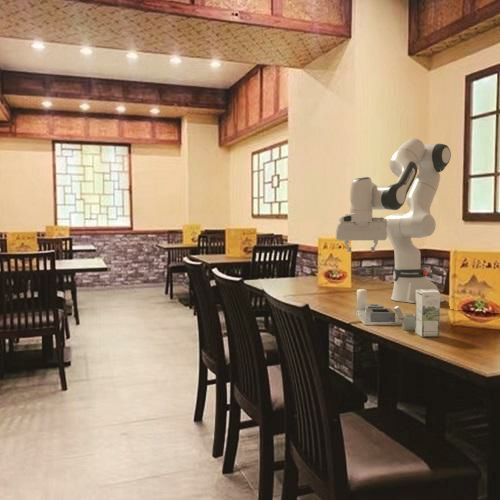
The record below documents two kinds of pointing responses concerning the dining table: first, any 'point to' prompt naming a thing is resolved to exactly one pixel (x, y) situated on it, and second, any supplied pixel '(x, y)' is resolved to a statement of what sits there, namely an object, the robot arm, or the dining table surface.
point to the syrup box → (427, 313)
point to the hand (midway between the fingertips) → (361, 251)
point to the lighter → (406, 319)
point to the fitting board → (377, 315)
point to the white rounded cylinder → (361, 299)
